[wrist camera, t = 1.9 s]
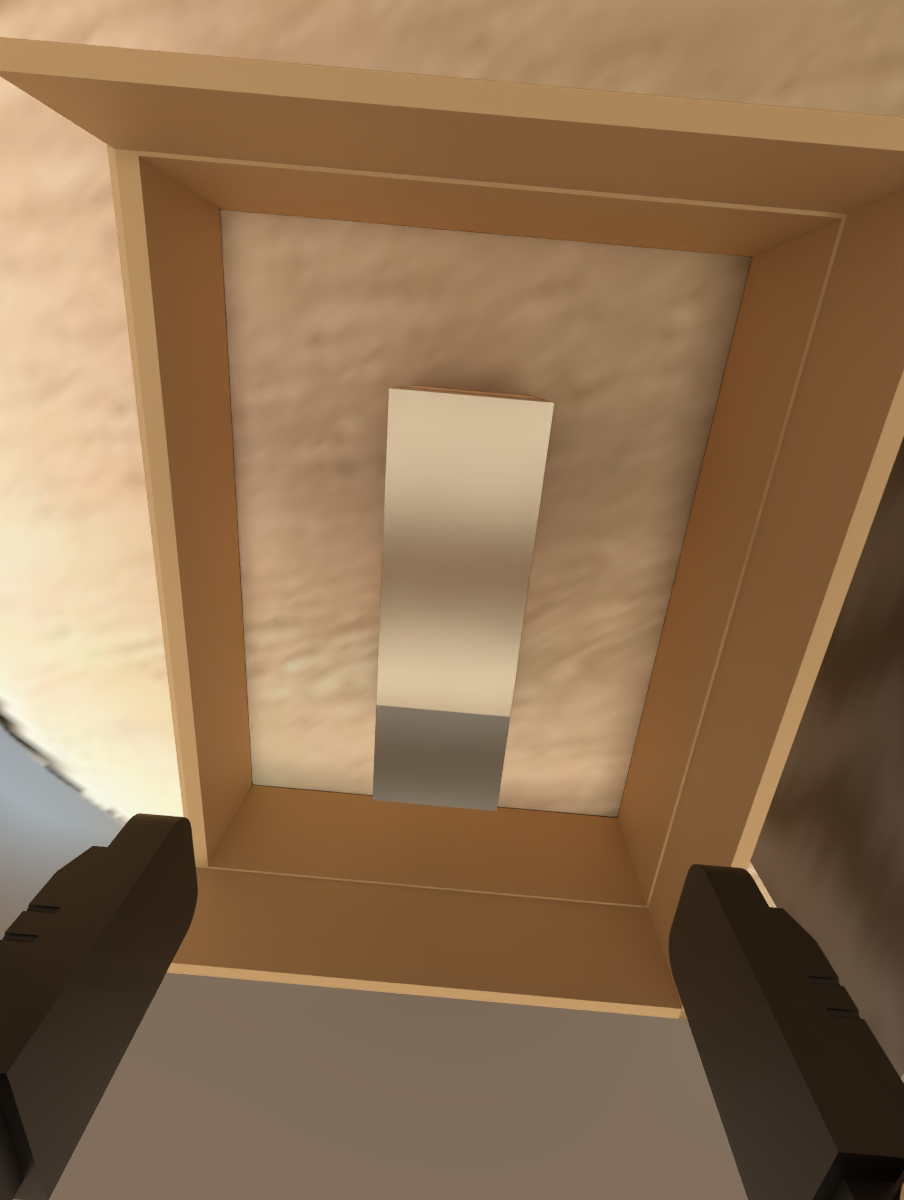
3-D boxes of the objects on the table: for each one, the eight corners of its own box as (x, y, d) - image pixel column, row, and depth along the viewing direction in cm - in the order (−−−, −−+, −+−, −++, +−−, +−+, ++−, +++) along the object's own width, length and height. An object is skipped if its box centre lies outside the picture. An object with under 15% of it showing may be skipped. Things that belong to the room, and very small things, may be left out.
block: (411, 385, 21) (388, 388, 15) (532, 396, 21) (554, 402, 15) (393, 709, 26) (372, 800, 21) (491, 718, 26) (496, 811, 21)
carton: (188, 185, 19) (-37, 33, 11) (775, 237, 19) (1015, 127, 11) (232, 792, 28) (131, 969, 20) (627, 828, 28) (692, 1019, 20)
